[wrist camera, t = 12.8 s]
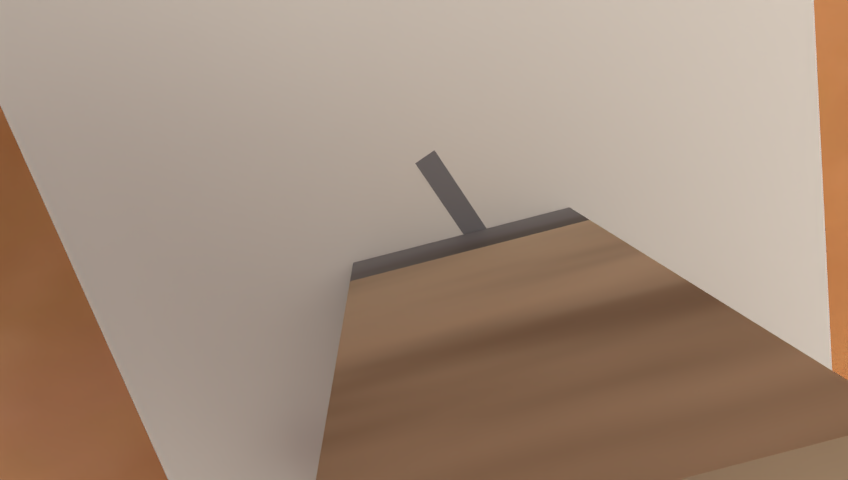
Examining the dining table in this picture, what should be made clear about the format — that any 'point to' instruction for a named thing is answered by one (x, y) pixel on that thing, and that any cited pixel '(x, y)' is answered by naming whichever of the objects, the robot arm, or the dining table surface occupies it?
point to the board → (393, 173)
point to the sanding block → (566, 369)
